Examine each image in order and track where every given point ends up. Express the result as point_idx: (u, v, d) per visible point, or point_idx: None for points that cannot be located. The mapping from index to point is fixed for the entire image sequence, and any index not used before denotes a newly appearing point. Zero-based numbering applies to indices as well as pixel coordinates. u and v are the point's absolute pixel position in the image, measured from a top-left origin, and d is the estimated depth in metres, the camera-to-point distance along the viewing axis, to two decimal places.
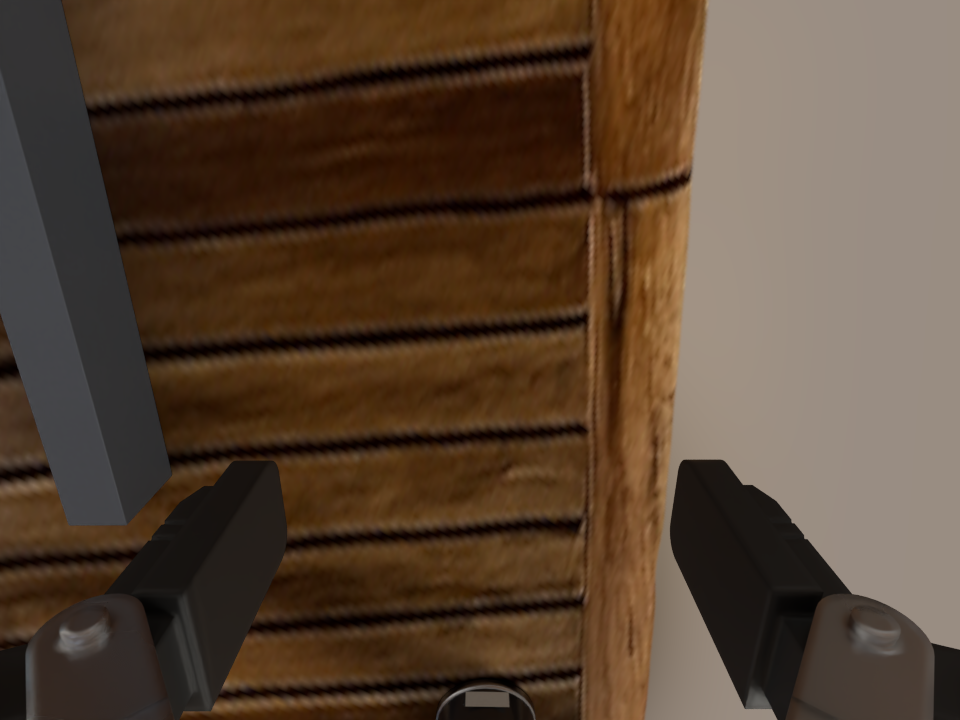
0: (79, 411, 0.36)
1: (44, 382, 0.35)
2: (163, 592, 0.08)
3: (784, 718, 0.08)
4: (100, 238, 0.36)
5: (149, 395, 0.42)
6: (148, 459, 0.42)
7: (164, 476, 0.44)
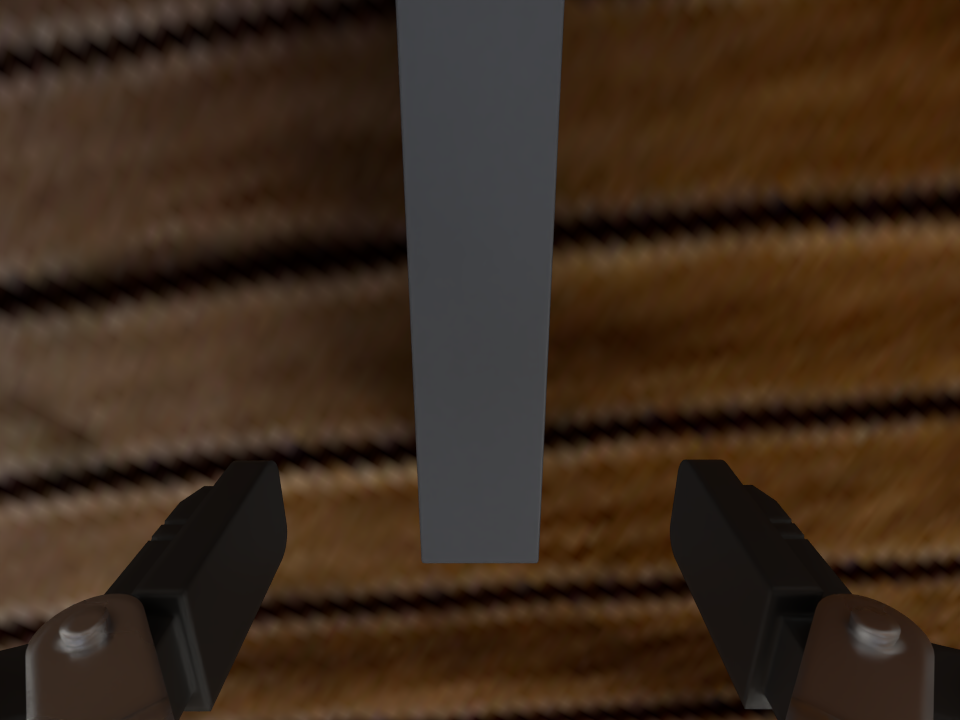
0: (514, 320, 0.16)
1: (457, 249, 0.16)
2: (163, 592, 0.08)
3: (784, 718, 0.08)
4: None
5: None
6: None
7: None
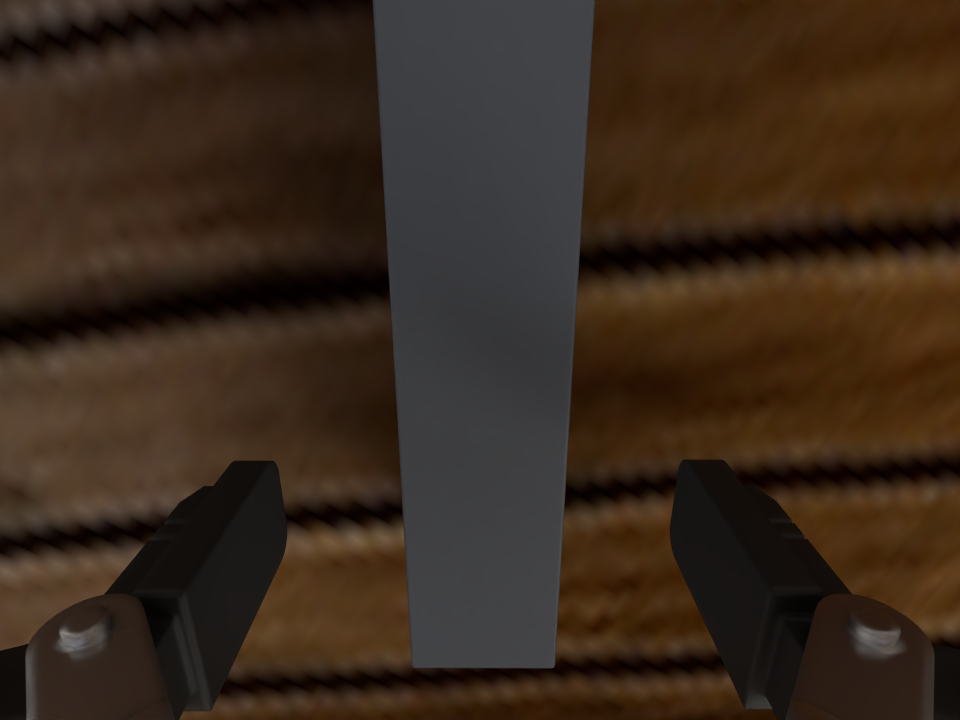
0: (527, 382, 0.13)
1: (454, 294, 0.12)
2: (163, 592, 0.08)
3: (784, 718, 0.08)
4: None
5: None
6: None
7: None
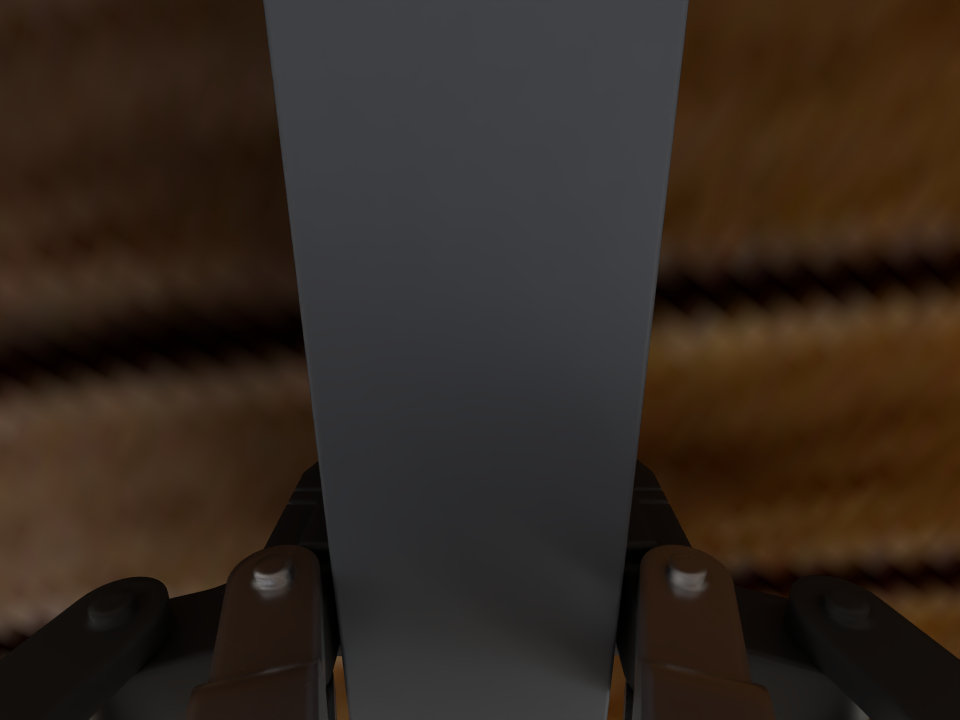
0: (553, 536, 0.08)
1: (425, 396, 0.07)
2: (324, 544, 0.09)
3: (627, 672, 0.08)
4: None
5: None
6: None
7: None
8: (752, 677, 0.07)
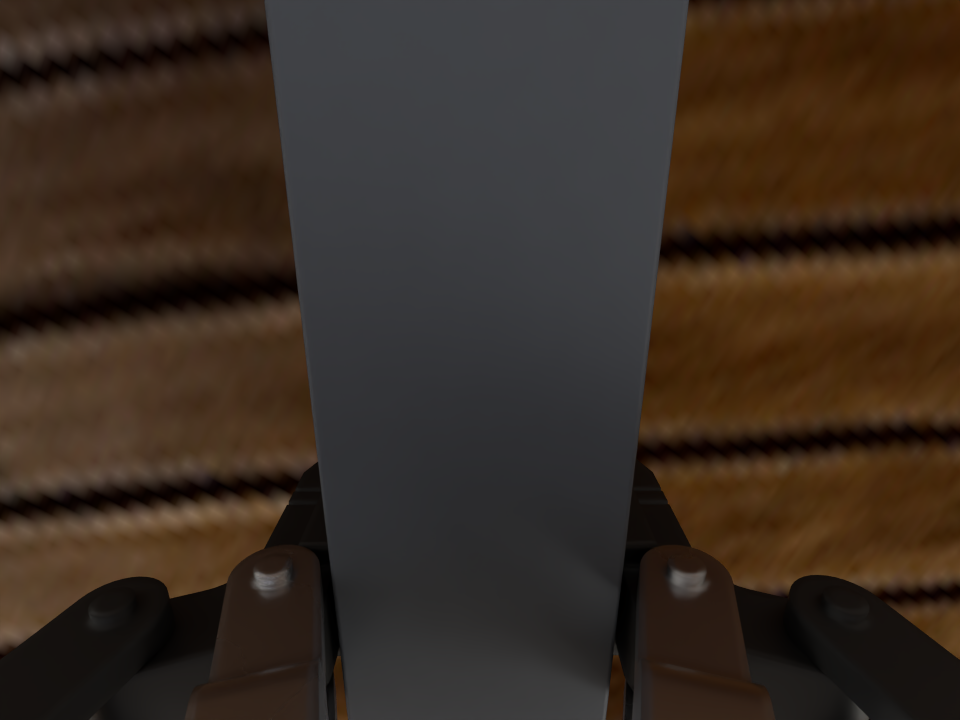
0: (553, 534, 0.08)
1: (424, 394, 0.07)
2: (324, 545, 0.09)
3: (626, 672, 0.08)
4: None
5: None
6: None
7: None
8: (751, 677, 0.07)
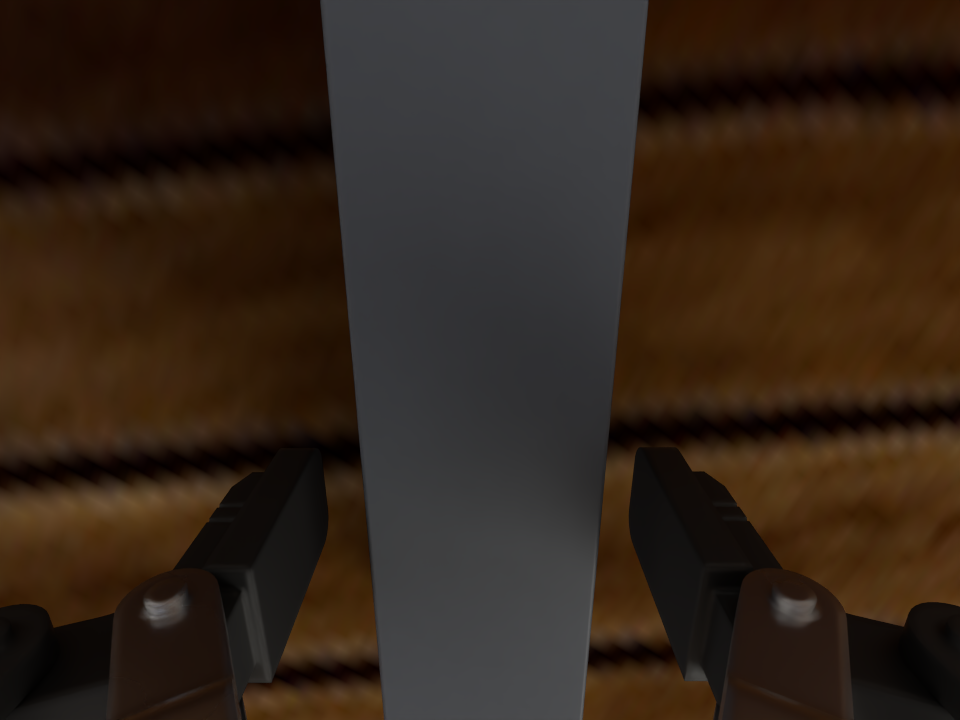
0: (544, 491, 0.09)
1: (443, 379, 0.09)
2: (231, 567, 0.08)
3: (717, 693, 0.08)
4: None
5: None
6: None
7: None
8: (871, 712, 0.07)
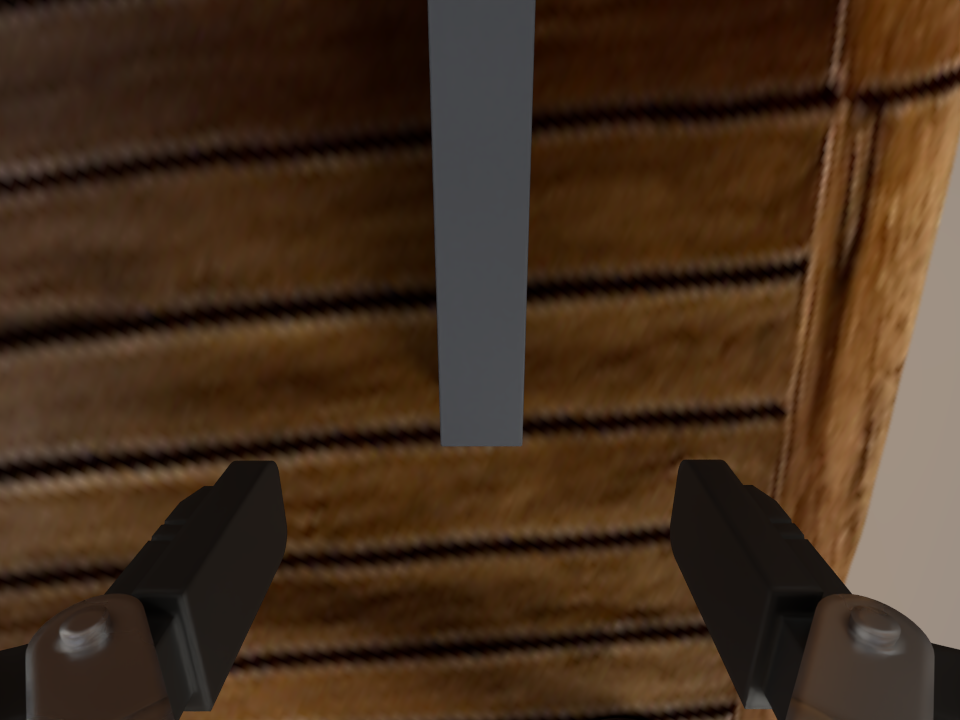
0: (504, 271, 0.25)
1: (466, 224, 0.24)
2: (163, 592, 0.08)
3: (784, 718, 0.08)
4: None
5: None
6: None
7: None
8: None
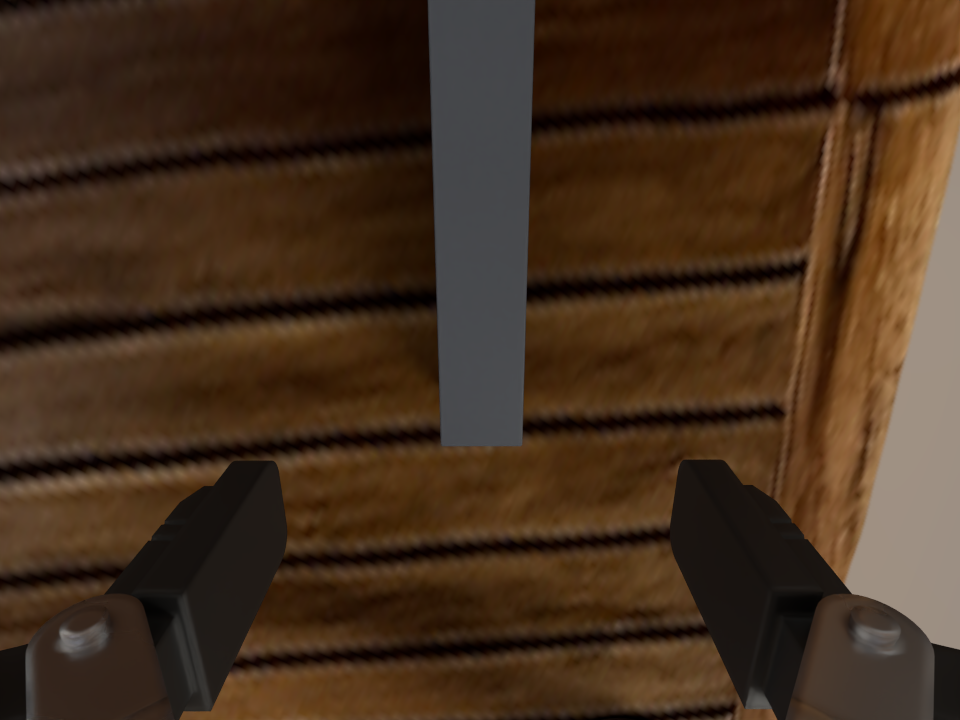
0: (504, 272, 0.25)
1: (466, 225, 0.24)
2: (163, 592, 0.08)
3: (784, 718, 0.08)
4: None
5: None
6: None
7: None
8: None
